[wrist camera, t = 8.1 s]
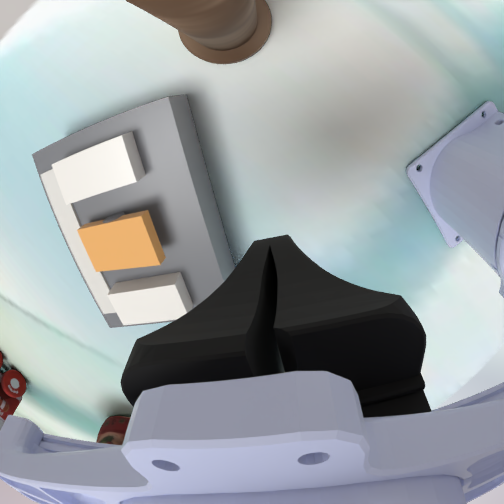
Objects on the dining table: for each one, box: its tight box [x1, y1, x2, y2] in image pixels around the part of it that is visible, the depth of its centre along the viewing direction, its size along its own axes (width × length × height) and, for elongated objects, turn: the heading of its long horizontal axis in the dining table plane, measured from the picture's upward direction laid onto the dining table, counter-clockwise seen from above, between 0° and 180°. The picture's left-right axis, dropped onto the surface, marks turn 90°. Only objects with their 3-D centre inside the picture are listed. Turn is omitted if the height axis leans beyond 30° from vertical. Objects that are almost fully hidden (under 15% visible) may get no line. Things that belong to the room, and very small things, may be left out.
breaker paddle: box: [77, 210, 166, 272], centre depth 18 cm, size 5×3×2 cm, turn 103°
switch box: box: [32, 95, 235, 328], centre depth 20 cm, size 10×14×5 cm
